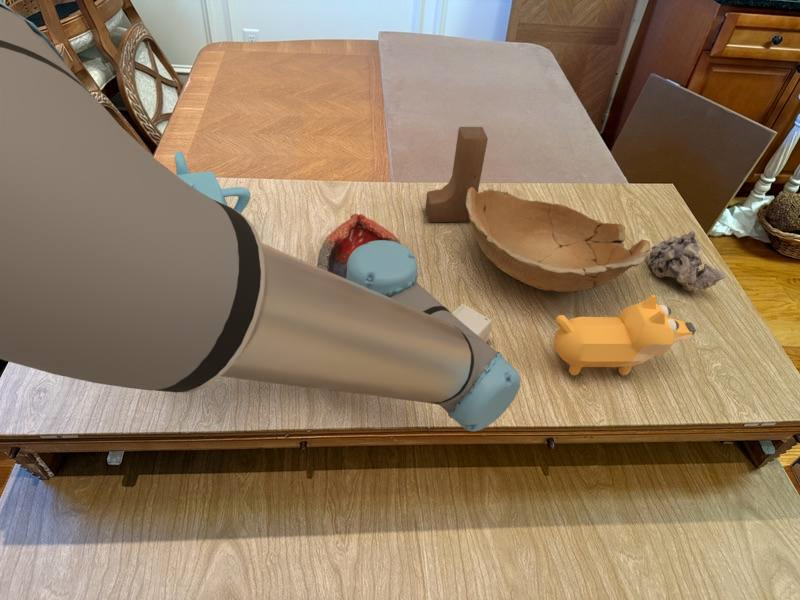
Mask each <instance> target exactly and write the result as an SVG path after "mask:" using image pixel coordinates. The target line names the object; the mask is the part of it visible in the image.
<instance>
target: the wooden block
mask: <svg viewBox="0 0 800 600" xmlns="http://www.w3.org/2000/svg"><path fill="white" fill-rule="evenodd" d="M487 145H488V135H487V133H486V132H485V129H484V128H483V126H459V127H458V130H457V137H456V146H455V153H454V160H453V167H452V174H451V177H450V179H449V182H448V183H447V184H445V186H443V187H442V188H439V189H434V190H433V189H432V190H428V191H427V193H426V200H425V209H424V210H425V213H426V218H427V222H428V223H466V222H467V223H468V222H469V223H470V218H469V214H468V210H467V209H466V198H467V197H466V196H467V191H468V189H469V188H471V187H473V188H474V189H475V191H477V193H479V190H480V189H479V188H480V183H481V177H482V172H483V166H484V161H485V157H486V150H487Z"/></svg>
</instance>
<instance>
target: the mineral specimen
mask: <svg viewBox="0 0 800 600" xmlns="http://www.w3.org/2000/svg"><path fill="white" fill-rule="evenodd" d="M700 251H702V244H701V243H700V242H698V241H697V240H696V232H695V231H693V230H690V231H689V232H688V233H687V234H682V235H680V237H677V236H676V235H674V236H670V237H669V238H668V239H666V240H663V241H661V242H658V244H657V245H653V246H652V247H651V250H650V251H649V252H650V253H649V256H648V261H647V265H648V266H649V267H650V268H651V271H652V273H653V274H654V275H655V276H656V277H658V278H660V279H662V278H665V277H670V278H675V279H676V281H677V282H678V283H679V285H682V288H683V289H684V290H685V291H687V292H691V291H692V290H693V289H700V290H705V291H706V290H707V289H710V288H712V287H713V286H716V285H717V284H718V282H720V281H722V280H724V279H726V278H727V275H726V273H725V272H724V271H723V270H720V269H716V268H714V267H713V265H710V264H708V263H704V266H703V268H701V269H700V266H701V265H703V262H702V258H701V254H699V252H700Z"/></svg>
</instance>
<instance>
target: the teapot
mask: <svg viewBox="0 0 800 600" xmlns="http://www.w3.org/2000/svg"><path fill="white" fill-rule="evenodd" d="M174 162H175V172H176V173H175V175H176V176H178V177H179V178H180V179H182V180H183V181H184V182H186V183H187V184H189V185H190V186H192V187H193V188H195V189H196V190H198V191H199V192H201V193H203V194H204V195H206V196H208V197H210V198H211V199H213V200H215V201H217V202H220V203H222V204H224V205H226V206H229V205H228V203H227V200H226V198H230V197H237V201H236V203H235V205H234V207H233V209H234V210H236V211H238V212H240V213H241V214H242V213H243V211H244V210H245V209H246V208H247V206H248V205H249V202H250V201H251V196H252V195H251V192H250V190H249V188H246V187H242V186H236V187H235V186H233V187H227V188H221V186H220V183H219V180H218V179H217V177H216V174H215V173H214V172H213V171H211V170H207V171H198V172H190V170H189V167H188V164H187V162H186V157H185V155H184V153H183V151H180V150H178V151H176V152H175V153H174Z"/></svg>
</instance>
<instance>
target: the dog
mask: <svg viewBox="0 0 800 600" xmlns="http://www.w3.org/2000/svg"><path fill="white" fill-rule="evenodd" d="M671 314H672V309H671V308H670V307H669V306H667V305H664V304H658V303H657V297H656V295H655V294H651V295H650V296H649V297H648V298H646V299H645V300H643V301H640V302H638V303H635V304H632V305H629V306H627V307H625V308H624V309H623V310H622V311H621V312H620V313H619V315H618V316H577V317H573V318H569V319H568V318H567V317H566V315H564V314H560V315H558V316H557V317H556V318H555V323H556V324H557V326H558V328H557V330H556V332H555V334H554V338H553V345H554V350H555V351H556V352H557V354H558V355H559V357H560V358H561V360H562V361H564V362H565V363H567V364H568V365H570V366H569V368H568V373H569V374H570V375H571V376H573V377H575V376H578V375H579V374H580V372H581V370H582V368H618V370H617V371H618V374H620V375H621V376H627V375H629V374H630V372H631V370H632V368H633V367H634V366H640V365H642V364H644V363H645V362H647V361H649V360H650V359H651V358H653V357H654V356H664V355H665V354H666V353H667V352H668V351H669V350H671V348H672V347H673V344H674V343H678V342H681V341H687V340H689V339H692V337H693V335H694V334H695V333H696V332H697V331H696V330H697V329H696V328H695V326H694V324H693V322H692V321H691V322H690V321H682V320H679V319H676V318H673V317H671V316H670V315H671Z"/></svg>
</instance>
